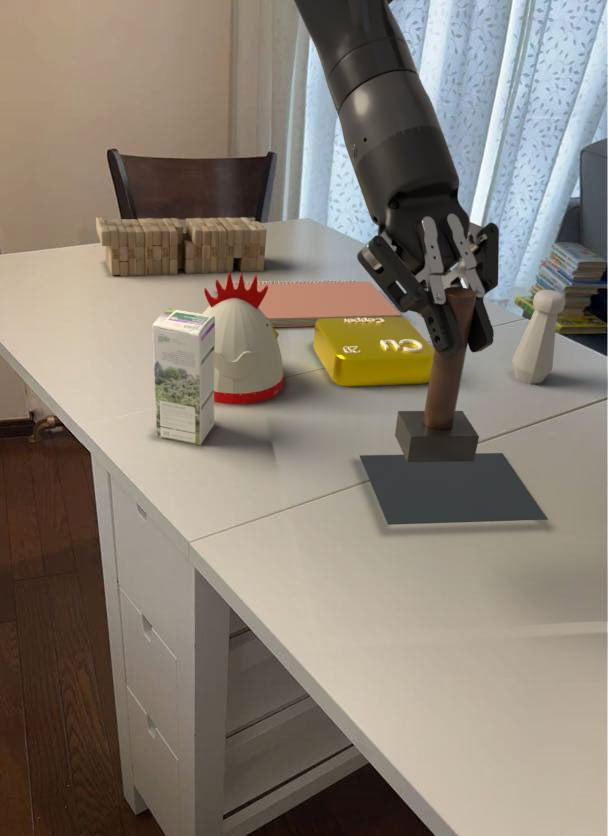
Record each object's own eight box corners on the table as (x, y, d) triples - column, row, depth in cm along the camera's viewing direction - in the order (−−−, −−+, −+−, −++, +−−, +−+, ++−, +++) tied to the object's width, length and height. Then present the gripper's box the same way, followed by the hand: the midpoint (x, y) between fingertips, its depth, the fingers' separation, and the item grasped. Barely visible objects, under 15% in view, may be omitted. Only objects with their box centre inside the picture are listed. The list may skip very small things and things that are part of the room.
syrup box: (215, 425, 100) (217, 313, 91) (200, 448, 95) (200, 332, 86) (172, 417, 101) (169, 305, 92) (154, 439, 96) (150, 323, 87)
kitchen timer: (284, 407, 105) (292, 295, 96) (179, 403, 104) (177, 289, 95) (280, 362, 116) (286, 258, 107) (184, 358, 115) (183, 252, 106)
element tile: (401, 342, 126) (406, 312, 123) (436, 384, 114) (442, 353, 111) (309, 344, 122) (312, 314, 119) (336, 388, 111) (339, 356, 108)
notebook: (366, 288, 144) (368, 277, 143) (399, 324, 132) (401, 313, 130) (218, 291, 138) (218, 280, 136) (237, 329, 125) (237, 317, 124)
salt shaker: (500, 376, 118) (522, 289, 111) (523, 367, 122) (545, 282, 114) (533, 391, 115) (558, 303, 107) (555, 381, 118) (580, 295, 111)
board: (500, 461, 98) (502, 452, 97) (545, 528, 87) (548, 519, 86) (358, 463, 95) (359, 455, 94) (386, 533, 84) (387, 524, 83)
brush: (458, 435, 73) (486, 282, 65) (474, 461, 69) (506, 302, 61) (394, 435, 73) (415, 281, 65) (407, 462, 69) (431, 301, 61)
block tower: (252, 262, 154) (97, 262, 144) (255, 217, 149) (95, 213, 139) (263, 276, 148) (103, 277, 138) (267, 229, 143) (101, 226, 134)
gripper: (350, 124, 58) (428, 346, 57) (490, 119, 65) (562, 319, 64) (305, 183, 65) (375, 383, 64) (436, 174, 71) (501, 355, 71)
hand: (468, 350), depth 64 cm, fingers closed on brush, 2 cm apart
